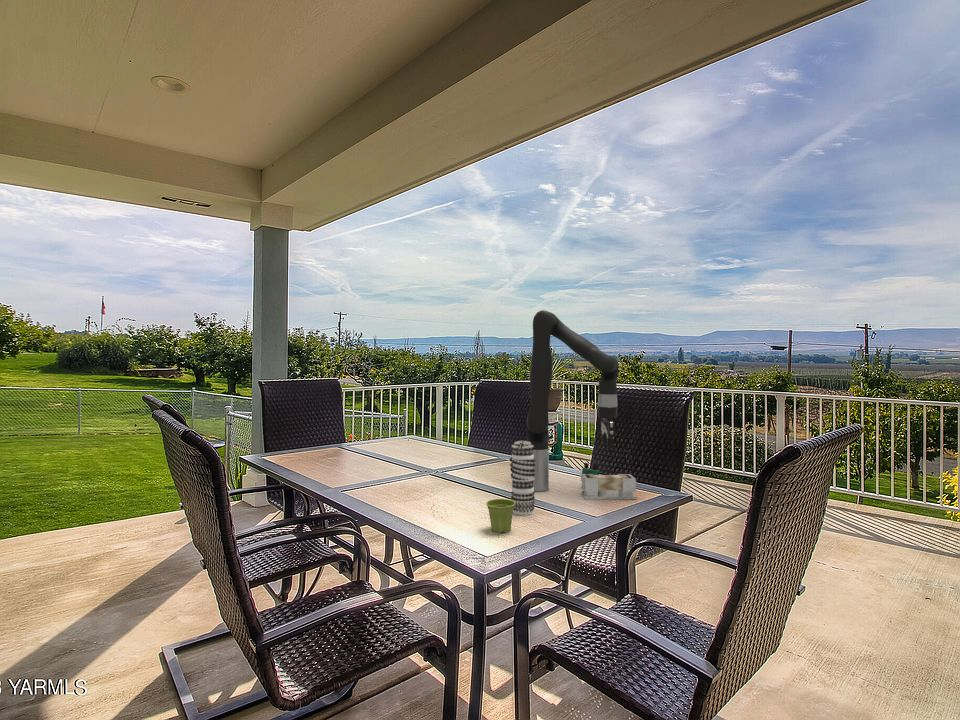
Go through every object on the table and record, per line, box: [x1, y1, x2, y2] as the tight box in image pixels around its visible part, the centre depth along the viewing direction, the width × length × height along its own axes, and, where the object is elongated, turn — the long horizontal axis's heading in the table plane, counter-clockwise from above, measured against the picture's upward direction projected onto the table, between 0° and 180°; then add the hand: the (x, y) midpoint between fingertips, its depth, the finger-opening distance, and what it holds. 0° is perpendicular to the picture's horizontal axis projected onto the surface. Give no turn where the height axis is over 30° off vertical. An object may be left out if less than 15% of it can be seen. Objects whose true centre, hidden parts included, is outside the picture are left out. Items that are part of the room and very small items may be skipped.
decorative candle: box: [509, 440, 536, 516], centre depth 178 cm, size 9×9×25 cm
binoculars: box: [580, 462, 600, 489], centre depth 211 cm, size 9×11×10 cm
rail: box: [588, 474, 629, 491], centre depth 197 cm, size 15×4×5 cm, turn 88°
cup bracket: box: [580, 473, 638, 500], centre depth 197 cm, size 20×8×8 cm, turn 88°
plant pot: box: [485, 498, 516, 533], centre depth 158 cm, size 9×9×9 cm
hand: (607, 446), depth 197 cm, fingers open, 8 cm apart
